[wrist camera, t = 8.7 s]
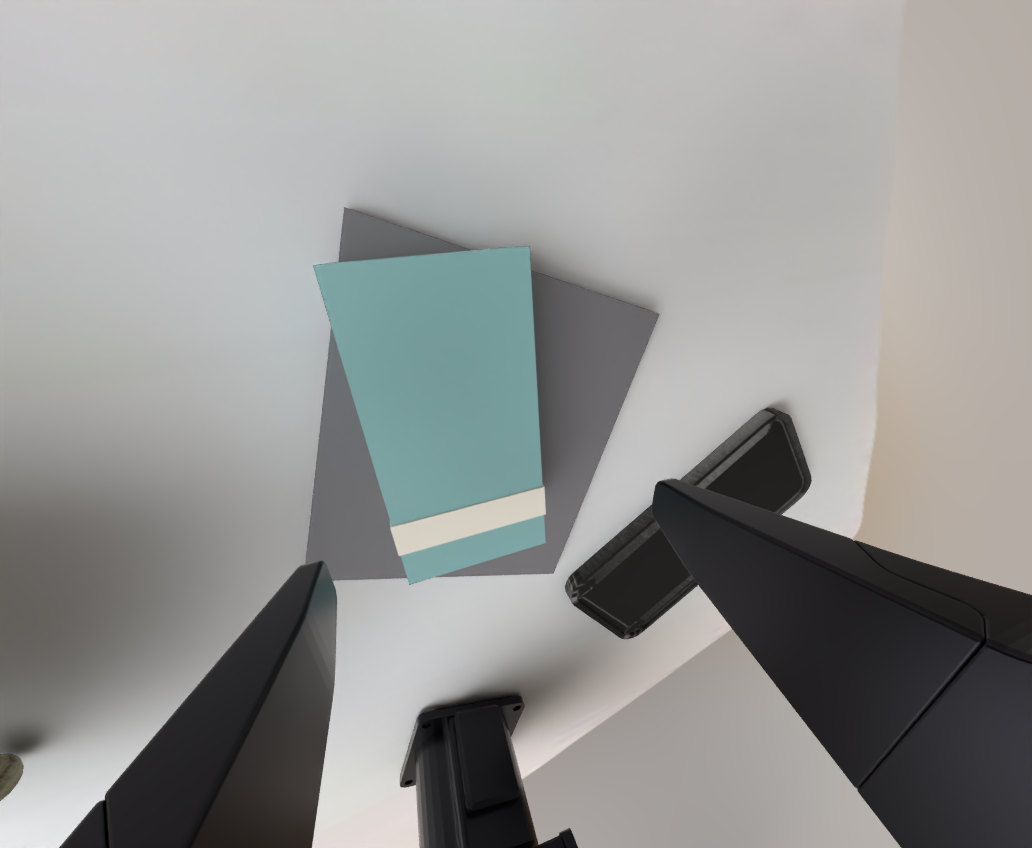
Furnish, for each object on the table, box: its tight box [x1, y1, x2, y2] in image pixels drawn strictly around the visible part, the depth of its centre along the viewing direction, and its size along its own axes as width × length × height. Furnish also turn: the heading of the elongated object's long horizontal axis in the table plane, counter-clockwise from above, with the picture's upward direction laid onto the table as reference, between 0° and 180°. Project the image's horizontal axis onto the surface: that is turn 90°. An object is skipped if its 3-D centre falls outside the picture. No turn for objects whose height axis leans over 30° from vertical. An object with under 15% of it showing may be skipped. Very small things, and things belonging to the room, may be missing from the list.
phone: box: [565, 408, 811, 639], centre depth 21 cm, size 8×1×15 cm
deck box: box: [313, 246, 546, 585], centre depth 12 cm, size 2×5×10 cm
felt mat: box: [306, 207, 659, 580], centre depth 14 cm, size 13×11×1 cm
